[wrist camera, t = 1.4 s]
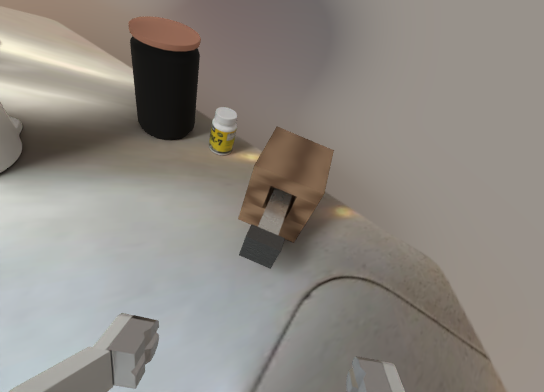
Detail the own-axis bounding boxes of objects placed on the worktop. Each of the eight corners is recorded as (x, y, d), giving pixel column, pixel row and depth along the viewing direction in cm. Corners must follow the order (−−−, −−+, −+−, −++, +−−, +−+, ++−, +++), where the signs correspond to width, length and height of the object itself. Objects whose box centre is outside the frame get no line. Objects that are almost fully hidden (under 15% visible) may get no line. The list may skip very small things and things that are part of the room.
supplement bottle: (203, 145, 54) (207, 108, 48) (221, 138, 57) (227, 103, 51) (219, 159, 52) (225, 123, 46) (236, 151, 55) (244, 116, 49)
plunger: (239, 255, 34) (245, 236, 31) (266, 194, 42) (274, 175, 39) (270, 268, 34) (280, 251, 31) (291, 205, 42) (301, 186, 39)
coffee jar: (200, 120, 59) (208, 32, 46) (183, 148, 51) (187, 52, 39) (152, 105, 58) (147, 11, 45) (127, 131, 50) (113, 27, 38)
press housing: (238, 219, 44) (254, 164, 35) (259, 178, 52) (276, 126, 43) (293, 242, 44) (324, 194, 35) (306, 198, 51) (333, 150, 43)
